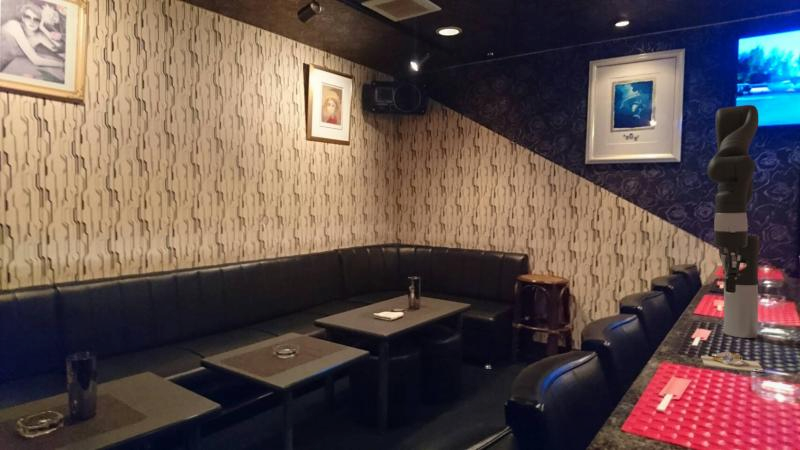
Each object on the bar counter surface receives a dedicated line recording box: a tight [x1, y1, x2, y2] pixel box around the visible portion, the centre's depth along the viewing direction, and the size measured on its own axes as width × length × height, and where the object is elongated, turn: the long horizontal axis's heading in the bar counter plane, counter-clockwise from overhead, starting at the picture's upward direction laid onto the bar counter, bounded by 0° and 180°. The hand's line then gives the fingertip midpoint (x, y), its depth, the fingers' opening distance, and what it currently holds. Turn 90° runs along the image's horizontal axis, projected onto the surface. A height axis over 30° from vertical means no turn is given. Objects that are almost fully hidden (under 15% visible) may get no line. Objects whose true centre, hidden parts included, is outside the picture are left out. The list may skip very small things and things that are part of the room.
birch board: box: [700, 355, 764, 373], centre depth 130 cm, size 9×13×1 cm
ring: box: [711, 351, 743, 364], centre depth 133 cm, size 7×3×8 cm
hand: (730, 292), depth 133 cm, fingers closed
